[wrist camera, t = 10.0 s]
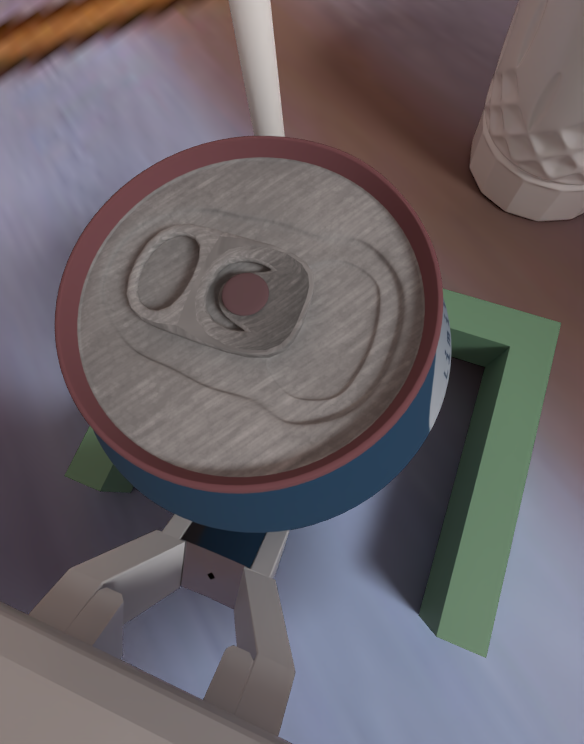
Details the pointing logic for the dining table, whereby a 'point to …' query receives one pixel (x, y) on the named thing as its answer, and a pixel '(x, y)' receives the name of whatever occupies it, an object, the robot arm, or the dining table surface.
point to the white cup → (536, 115)
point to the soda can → (256, 332)
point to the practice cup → (488, 423)
